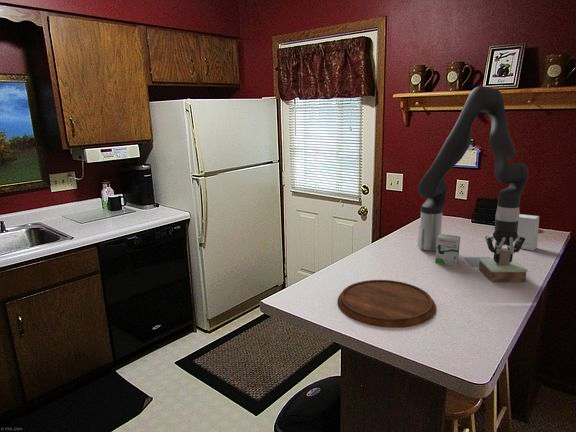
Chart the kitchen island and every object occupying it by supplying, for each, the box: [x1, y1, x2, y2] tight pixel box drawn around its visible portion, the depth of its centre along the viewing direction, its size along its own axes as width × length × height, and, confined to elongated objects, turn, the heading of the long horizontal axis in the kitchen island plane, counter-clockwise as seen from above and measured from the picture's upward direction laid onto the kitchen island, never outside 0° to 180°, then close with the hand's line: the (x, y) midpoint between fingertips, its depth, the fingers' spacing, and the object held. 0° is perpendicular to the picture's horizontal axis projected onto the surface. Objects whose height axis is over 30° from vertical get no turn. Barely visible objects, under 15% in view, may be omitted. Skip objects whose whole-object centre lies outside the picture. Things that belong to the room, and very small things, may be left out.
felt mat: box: [462, 256, 491, 268], centre depth 171 cm, size 11×11×1 cm
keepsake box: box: [478, 262, 527, 283], centre depth 156 cm, size 12×12×4 cm
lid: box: [479, 247, 528, 273], centre depth 155 cm, size 12×12×6 cm
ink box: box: [434, 233, 461, 267], centre depth 170 cm, size 9×5×12 cm, turn 62°
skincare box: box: [513, 213, 540, 251], centre depth 186 cm, size 8×6×15 cm
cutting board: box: [337, 279, 437, 329], centre depth 139 cm, size 32×32×2 cm
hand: (502, 262), depth 155 cm, fingers closed on lid, 3 cm apart
